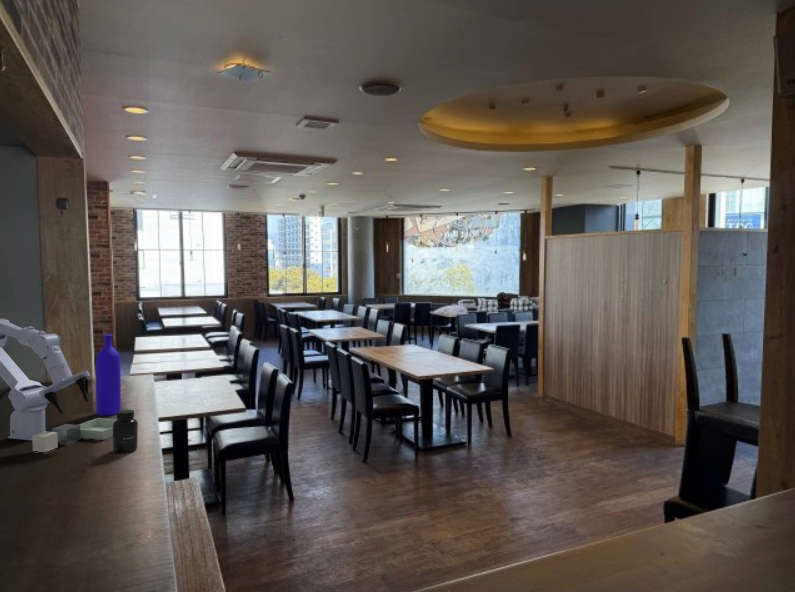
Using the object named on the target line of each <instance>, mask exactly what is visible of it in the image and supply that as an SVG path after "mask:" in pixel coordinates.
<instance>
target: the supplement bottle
mask: <svg viewBox="0 0 795 592" xmlns="http://www.w3.org/2000/svg"><path fill="white" fill-rule="evenodd" d="M115 416H116V418H115V420H116V421H115V422H114V423H113V437H112V452H114V453H116V454H127V453H132V452H135V451H136V450H137V449H138V439H139V438H138V434H139V433H138V422H139V421H138V420H137V419H136V418H135V410H134V409H122V410H121V409H120V411H118V412H117V414H116V415H115Z"/></svg>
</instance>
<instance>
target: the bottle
mask: <svg viewBox="0 0 795 592" xmlns="http://www.w3.org/2000/svg"><path fill="white" fill-rule="evenodd" d="M103 337H104V346H103V347H102V348H101V349H100V351H99V352H97V354H96V357H95V358H96V359H95V400H96V401H95V402H96V404H95V405H96V407H95V408H96V414H97V416H100V415H110V416H114V415H113V414H115V415H117V412H118V411H121V404H122V403H121V402H122V401H121V398H122V397H121V396H122V395H121V392H122V390H121V389H122V388H121V386H122V385H121V384H122V383H121V381H122V380H121V378H122V377H121V374H122V373H121V357H120V354H119V351H117V350H116V349H115V347H114V346H112V337H113V334H103Z"/></svg>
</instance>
